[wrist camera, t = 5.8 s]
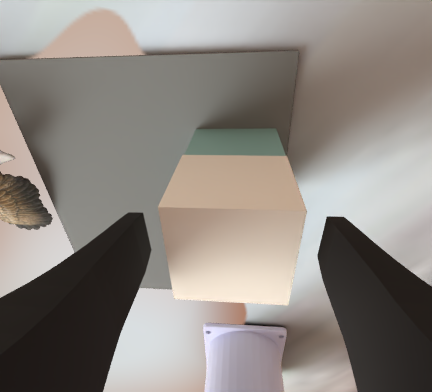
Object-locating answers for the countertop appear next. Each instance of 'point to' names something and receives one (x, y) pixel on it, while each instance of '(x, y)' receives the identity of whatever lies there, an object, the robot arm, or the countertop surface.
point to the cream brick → (232, 228)
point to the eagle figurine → (21, 201)
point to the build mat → (136, 127)
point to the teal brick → (236, 142)
